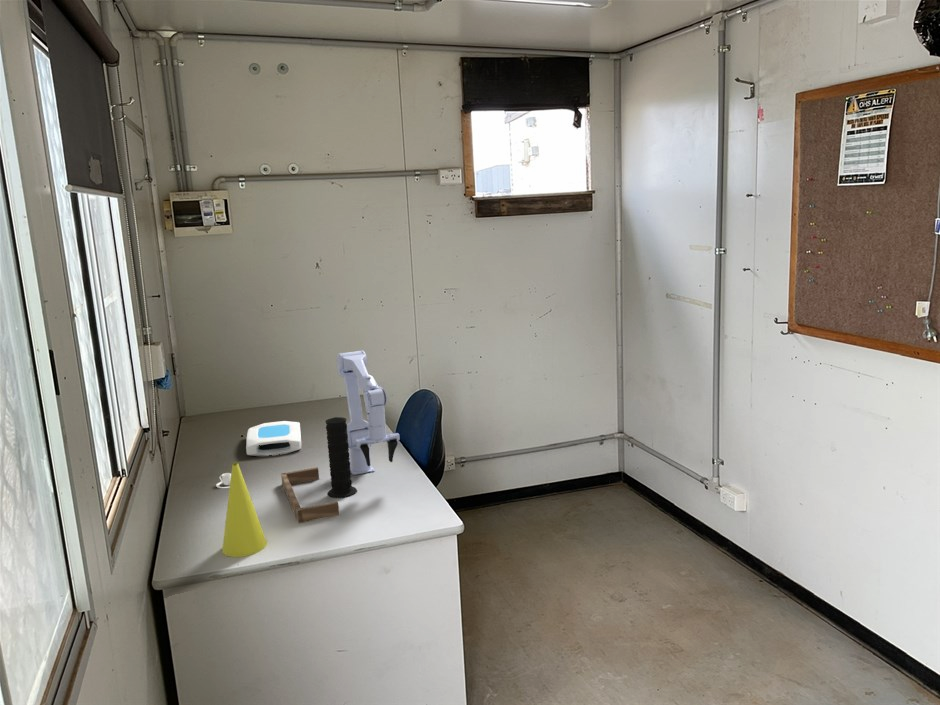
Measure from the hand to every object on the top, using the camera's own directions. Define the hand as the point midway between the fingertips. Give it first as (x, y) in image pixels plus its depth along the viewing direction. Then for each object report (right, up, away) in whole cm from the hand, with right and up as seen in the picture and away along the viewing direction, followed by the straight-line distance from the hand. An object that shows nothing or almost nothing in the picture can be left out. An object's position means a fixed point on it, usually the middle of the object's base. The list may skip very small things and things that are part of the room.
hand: (379, 463), depth 241 cm
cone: (-34, -19, -36) cm, 53 cm away
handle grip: (-13, -10, +1) cm, 16 cm away
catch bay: (-23, -11, -3) cm, 26 cm away
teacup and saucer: (-55, -11, +11) cm, 57 cm away
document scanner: (-50, -1, +56) cm, 76 cm away
